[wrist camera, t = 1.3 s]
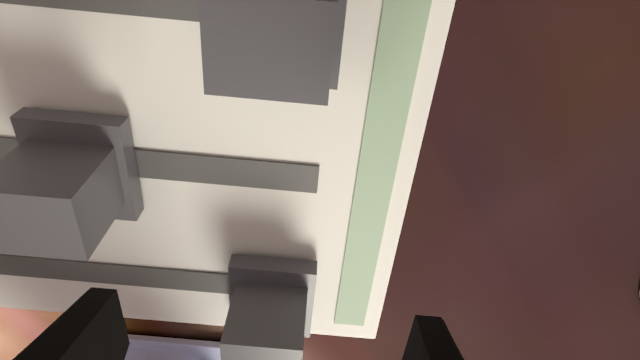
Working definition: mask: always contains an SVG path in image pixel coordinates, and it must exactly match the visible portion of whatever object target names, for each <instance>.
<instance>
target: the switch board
mask: <svg viewBox="0 0 640 360" xmlns="http://www.w3.org/2000/svg"><path fill="white" fill-rule="evenodd" d="M454 5H455V0H347V7H346V16H345V25H344V34H343V43H342V52H341V61H340V70H339V79H338V88H337V90H334V89H329V99H328V106H323V105H313V104H302V103H291V102H280V101H269V100H259V99H248V98H237V97H226V96H215V95H205V94H204V85H203V69H202V53H201V37H200V21H199V5H198V0H0V160H1V159H2V158H3V157H5V156H6V155H7V154H8V153H9V152H11V151H12V150H13V149H14V148H15V147H17V146H18V141H17V138H16V135H15V132H14V129H13V126H12V123H11V120H10V116H12V115H13V114H14V113H16V112H17V111H18V110H20V109H21V108H23V107H32V108H43V109H54V110H64V111H75V112H86V113H97V114H108V115H119V116H129V120H130V126H131V132H132V138H133V144H134V150H135V156H136V162H137V168H138V174H139V180H140V186H141V192H142V198H143V204H144V210H143V211H142V213H141V215H140V216H139V218H138V220H137V221H127V220H114V222H113V223H112V225H111V226H110V228H109V229H108V231H107V232H106V234H105V236H104V237H103V239H102V240H101V242H100V243H99V245H98V246H97V248H96V249H95V251H94V252H93V254H92V255H91V257H90V258H89V260H88V261H82V260H70V259H59V258H47V257H36V256H24V255H13V254H1V253H0V307H5V308H16V309H28V310H40V311H52V312H65V311H66V310H67V309H68V308H69V307H70V306H71V305H72V304H73V303H74V302H75V301H77V300H78V299H79V298H80V297H81V296H82V295H83V294H84V293H85V292H86V291H87V290H88V289H90V288H91V287H95V288H106V289H117V292H118V296H119V301H120V305H121V309H122V313H123V317H124V318H134V319H146V320H158V321H170V322H182V323H193V324H205V325H217V326H224V325H225V321H226V318H227V314H228V310H229V281H228V265H229V262H230V258H231V255H232V254H242V255H253V256H265V257H276V258H288V259H299V260H311V261H317V277H316V286H315V295H314V304H313V313H312V322H311V331H310V333H311V334H323V335H335V336H347V337H358V338H370V339H375V337H376V333H377V329H378V324H379V320H380V316H381V312H382V308H383V303H384V299H385V295H386V291H387V287H388V282H389V278H390V274H391V270H392V266H393V261H394V257H395V253H396V249H397V244H398V240H399V236H400V232H401V228H402V223H403V219H404V215H405V211H406V207H407V202H408V198H409V194H410V190H411V186H412V181H413V177H414V173H415V169H416V165H417V160H418V156H419V152H420V148H421V144H422V139H423V135H424V131H425V127H426V122H427V118H428V114H429V110H430V106H431V101H432V97H433V93H434V89H435V85H436V80H437V76H438V72H439V68H440V64H441V59H442V55H443V51H444V47H445V43H446V38H447V34H448V30H449V26H450V22H451V17H452V13H453V9H454Z"/></svg>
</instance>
